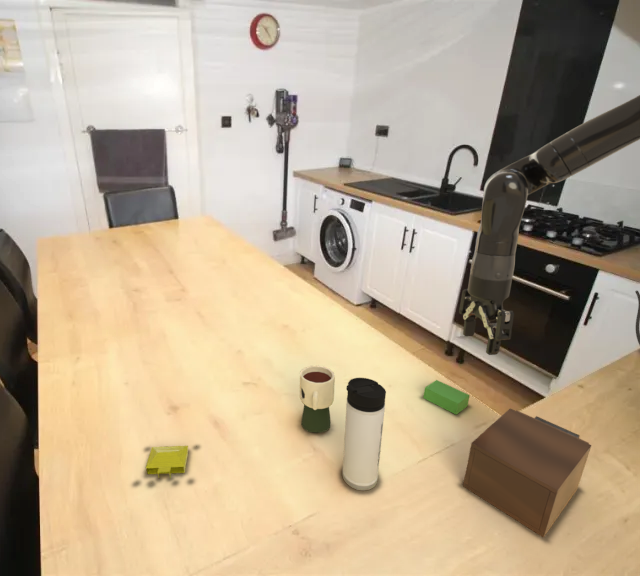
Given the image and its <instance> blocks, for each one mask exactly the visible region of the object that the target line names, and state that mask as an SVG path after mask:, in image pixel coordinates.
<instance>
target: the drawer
mask: <svg viewBox="0 0 640 576" xmlns="http://www.w3.org/2000/svg"><path fill="white" fill-rule="evenodd" d="M515 411H517V412H519V413H521V414H524V415H526V416H528V417H530V418H533V419H535V420H537V421H539V422H541V423H544V424H546V425H548V426H550V427H552V428H555V429H557V430H559V431H561V432H564V433H566V434H568V435H570V436H572V437H575V438H577V439H579V440H581V441H583V442H586V443H588V444H590V442H588V441H586V440H584V439H582V438H581V437H580V434H577V433H576V432H573V431H571V430H569V429H567V428H565V427H563V426H559V425H558V424H555V423H553V422H551V421H548V420H547V419H544V418H542V417H540V416H537V415H536V416H535V417H532V416H530V415H528V414H526V413H524V412H522V411H519V410H517V409H516V410H515Z"/></svg>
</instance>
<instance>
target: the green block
mask: <svg viewBox="0 0 640 576" xmlns="http://www.w3.org/2000/svg"><path fill="white" fill-rule="evenodd" d="M470 395H471V394H469V393H466V392H464V391H462V390H460V389H458V388H455V387H453V386H451V385H449V384H447V383H444V382H442V381H440V380H438V379H435V380H434V381H433V382H431V383H430V384H428V385H426V386H425V387H424V391H423V399H424V400H426V401H427V402H429V403H431V404H434V405H436V406H438V407H440V408H442V409H443V410H446V411H447V412H450V413H452V414H454V415H455V416H456V415H458V414H459V413H461V412H462V411H463V410H465V409H466V408H467V407H468V406H469V401H470V397H471V396H470Z"/></svg>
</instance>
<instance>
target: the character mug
mask: <svg viewBox="0 0 640 576" xmlns="http://www.w3.org/2000/svg"><path fill="white" fill-rule="evenodd" d="M335 383H336V375H335V371H333V370H332V369H331V368H329V367H326V366H325V365H319V364H318V365H309V366H305V367H303V368H302V369H301V370H300V372H299V400H300V402H301V403H302V404H303V409H302V414H301V415H302V416H301V424H300V426H301V427H302V429H304V430H305V431H307V432H308V433H324V432H327V431H329V429H330V428H331V412H330V407H331V406H332V405H333V403H334V401H335V385H336V384H335Z"/></svg>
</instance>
